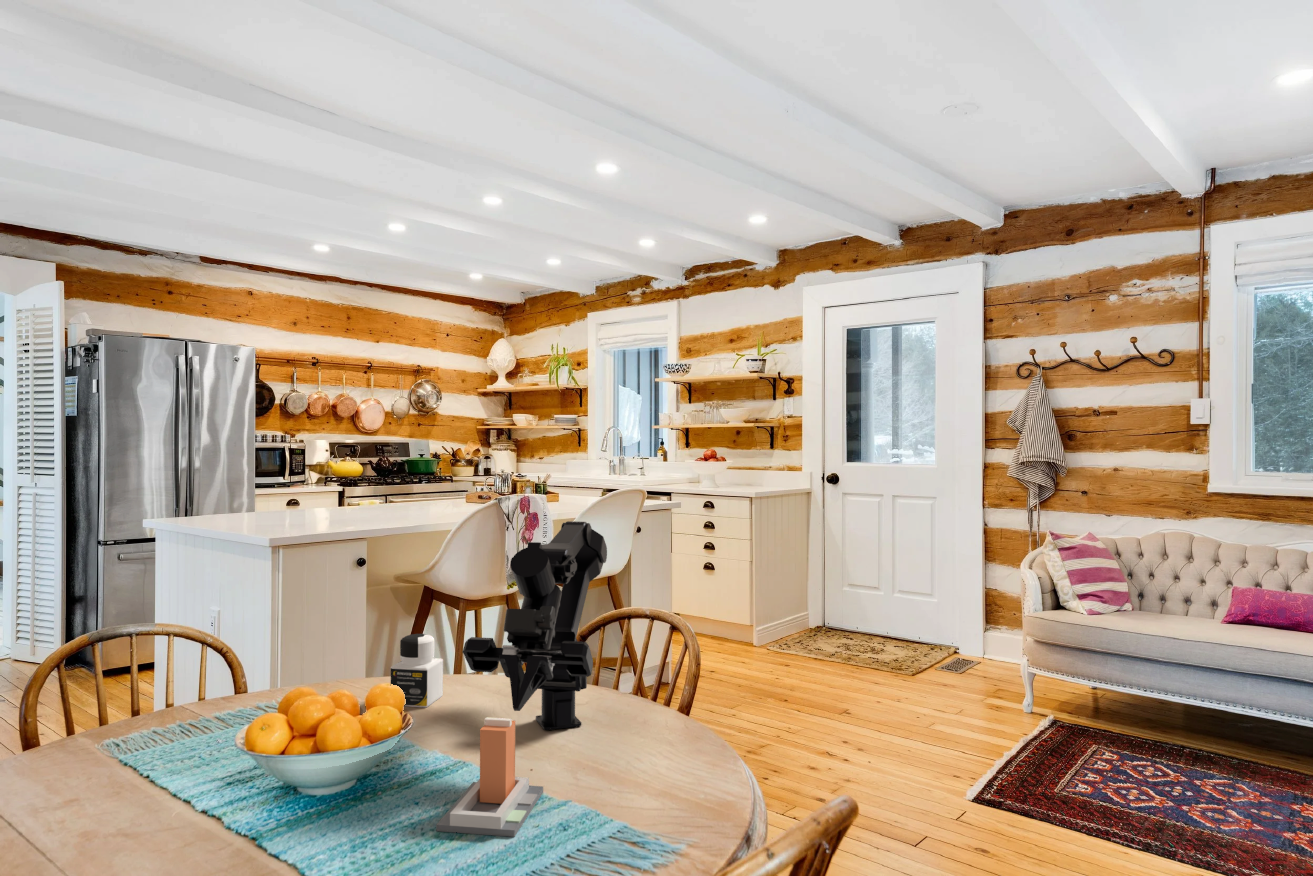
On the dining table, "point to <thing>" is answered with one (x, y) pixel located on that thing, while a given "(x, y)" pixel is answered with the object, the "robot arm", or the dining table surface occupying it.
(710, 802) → the dining table surface
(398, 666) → the medicine bottle
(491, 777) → the orange juice carton
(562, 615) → the robot arm
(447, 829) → the grey framed base plate
